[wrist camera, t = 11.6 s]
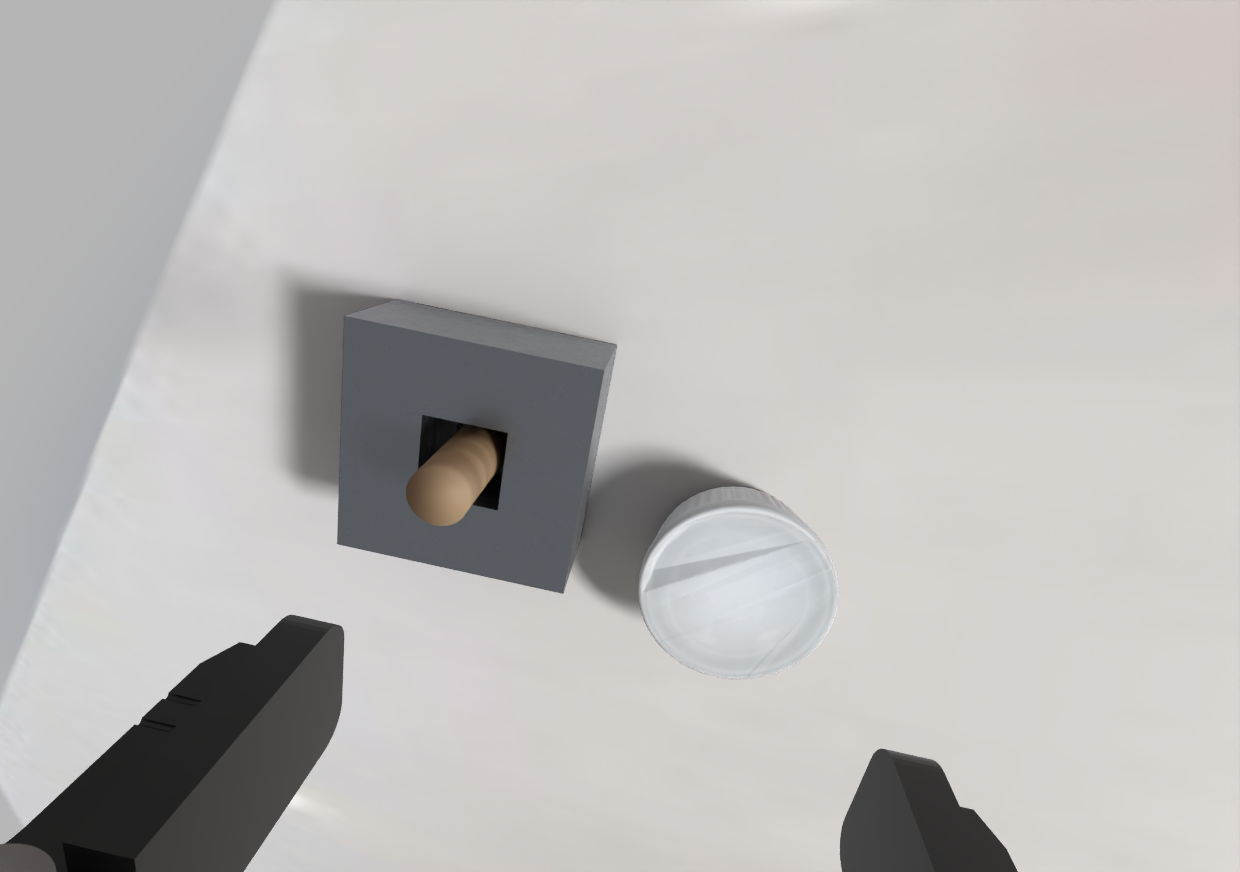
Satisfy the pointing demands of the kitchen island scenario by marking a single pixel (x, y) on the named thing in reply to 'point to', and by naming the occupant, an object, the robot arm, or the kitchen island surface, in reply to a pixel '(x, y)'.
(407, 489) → the walnut peg
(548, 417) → the hole block
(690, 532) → the ramekin
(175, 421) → the kitchen island surface
